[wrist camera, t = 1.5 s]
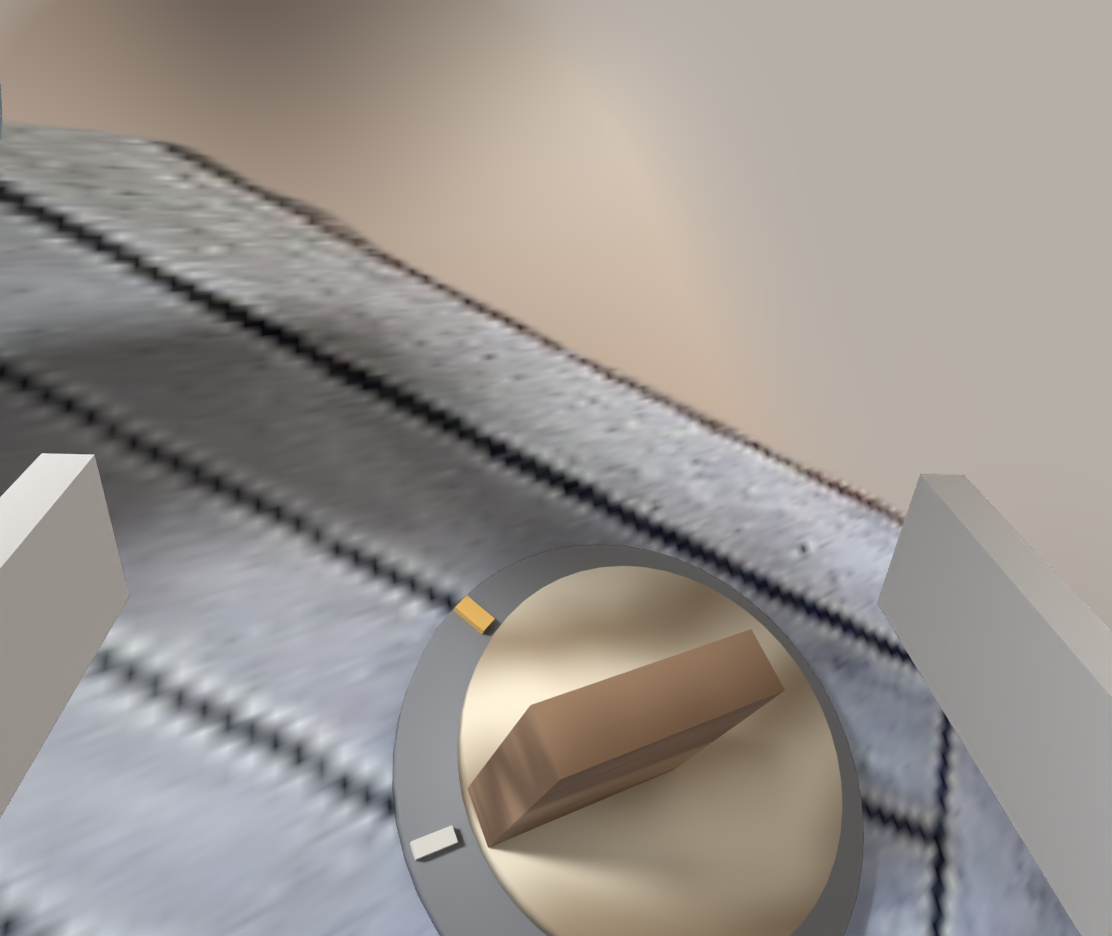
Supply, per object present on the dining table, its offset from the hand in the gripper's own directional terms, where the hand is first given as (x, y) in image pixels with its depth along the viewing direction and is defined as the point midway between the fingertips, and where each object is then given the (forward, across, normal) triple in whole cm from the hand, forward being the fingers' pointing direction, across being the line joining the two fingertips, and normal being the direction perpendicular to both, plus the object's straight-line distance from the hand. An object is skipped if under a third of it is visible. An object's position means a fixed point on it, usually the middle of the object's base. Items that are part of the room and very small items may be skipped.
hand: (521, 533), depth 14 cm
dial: (+15, +7, -23) cm, 28 cm away
